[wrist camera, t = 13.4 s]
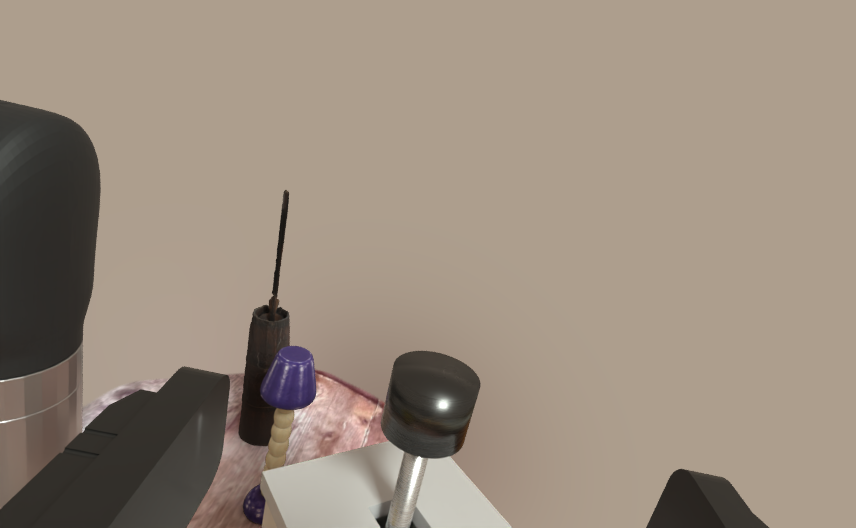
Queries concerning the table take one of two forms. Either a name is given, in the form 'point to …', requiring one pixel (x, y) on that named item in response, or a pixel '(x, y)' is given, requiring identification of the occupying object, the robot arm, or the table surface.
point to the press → (371, 493)
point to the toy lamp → (282, 411)
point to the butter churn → (264, 355)
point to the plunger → (425, 420)
